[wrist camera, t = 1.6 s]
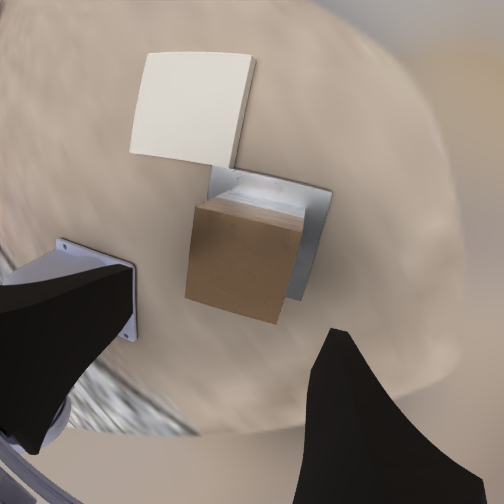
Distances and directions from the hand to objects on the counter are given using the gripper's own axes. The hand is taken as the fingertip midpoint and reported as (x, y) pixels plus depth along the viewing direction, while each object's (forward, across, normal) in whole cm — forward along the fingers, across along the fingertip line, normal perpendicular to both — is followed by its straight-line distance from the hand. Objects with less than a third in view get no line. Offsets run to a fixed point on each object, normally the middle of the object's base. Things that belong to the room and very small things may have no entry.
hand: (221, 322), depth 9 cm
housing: (+8, 0, 0) cm, 8 cm away
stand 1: (+9, +6, -8) cm, 14 cm away
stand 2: (+9, 0, -1) cm, 9 cm away
